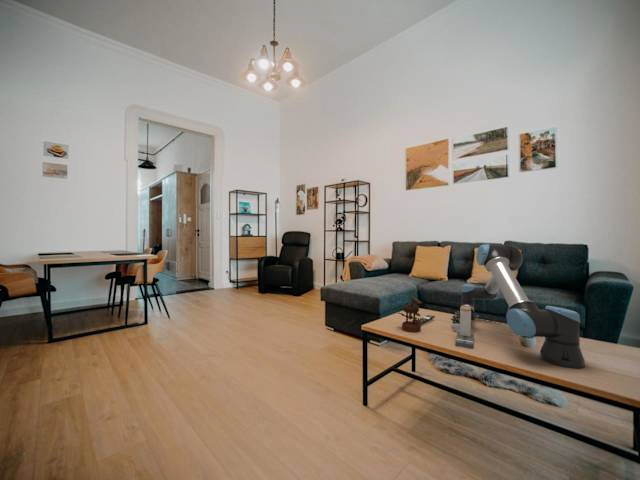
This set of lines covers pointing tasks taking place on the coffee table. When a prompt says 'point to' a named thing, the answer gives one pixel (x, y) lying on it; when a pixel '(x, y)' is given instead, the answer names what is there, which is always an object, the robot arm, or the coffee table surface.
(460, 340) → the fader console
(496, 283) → the robot arm
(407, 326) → the music box
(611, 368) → the coffee table surface
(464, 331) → the grey tall cylinder
